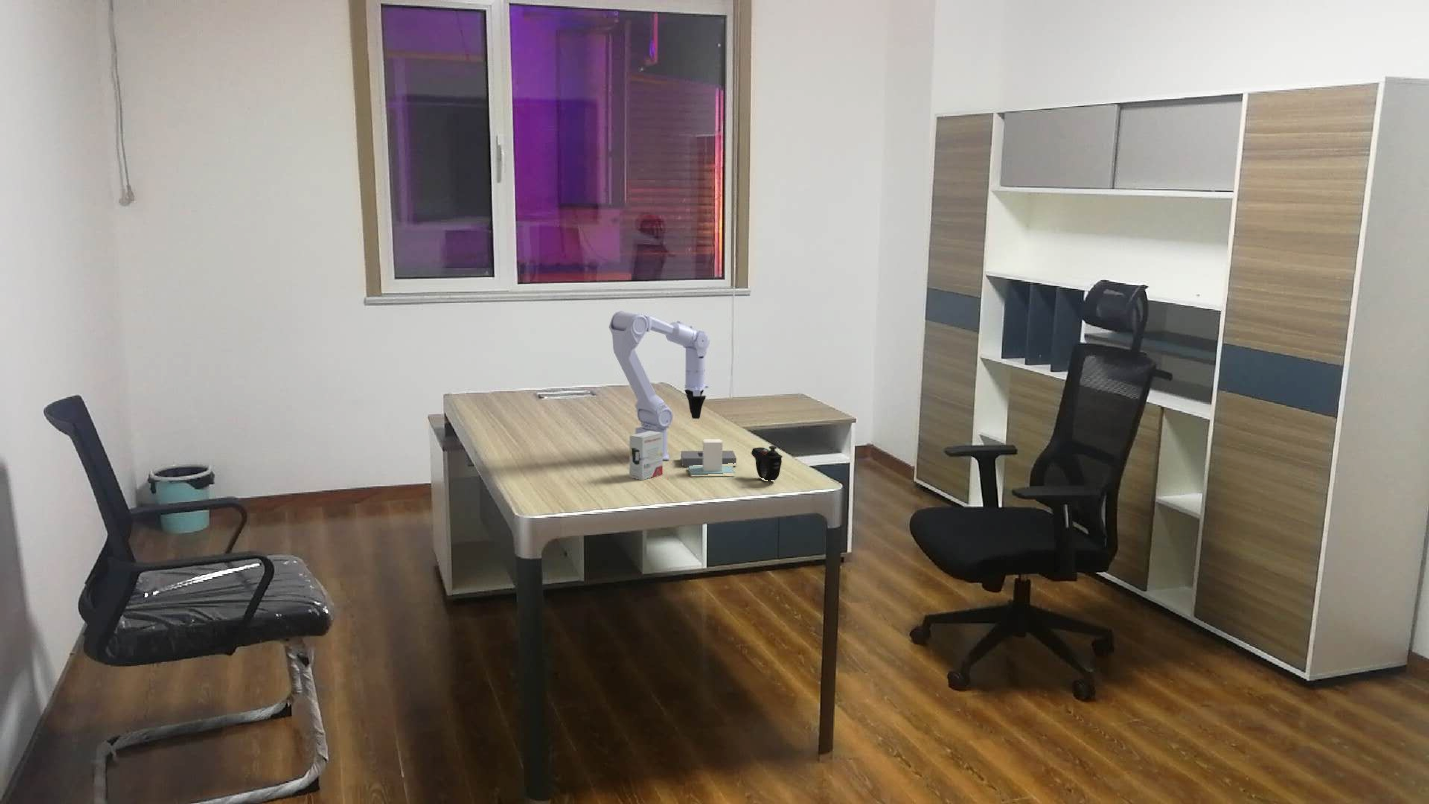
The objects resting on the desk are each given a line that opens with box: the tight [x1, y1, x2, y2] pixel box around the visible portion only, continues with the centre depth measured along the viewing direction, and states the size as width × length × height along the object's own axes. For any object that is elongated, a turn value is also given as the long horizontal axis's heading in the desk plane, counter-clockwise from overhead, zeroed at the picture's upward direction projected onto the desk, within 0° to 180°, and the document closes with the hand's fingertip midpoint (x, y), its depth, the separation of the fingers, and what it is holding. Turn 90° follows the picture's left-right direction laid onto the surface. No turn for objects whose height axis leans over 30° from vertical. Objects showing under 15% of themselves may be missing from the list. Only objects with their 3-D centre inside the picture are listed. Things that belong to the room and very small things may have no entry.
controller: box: [750, 445, 783, 482], centre depth 293 cm, size 4×12×10 cm, turn 24°
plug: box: [702, 438, 724, 471], centre depth 300 cm, size 5×4×8 cm
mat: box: [688, 466, 736, 475], centre depth 300 cm, size 12×8×1 cm, turn 95°
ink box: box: [629, 431, 664, 481], centre depth 295 cm, size 9×5×12 cm, turn 141°
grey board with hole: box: [680, 450, 737, 467], centre depth 311 cm, size 15×9×2 cm, turn 95°
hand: (694, 415), depth 325 cm, fingers open, 7 cm apart
